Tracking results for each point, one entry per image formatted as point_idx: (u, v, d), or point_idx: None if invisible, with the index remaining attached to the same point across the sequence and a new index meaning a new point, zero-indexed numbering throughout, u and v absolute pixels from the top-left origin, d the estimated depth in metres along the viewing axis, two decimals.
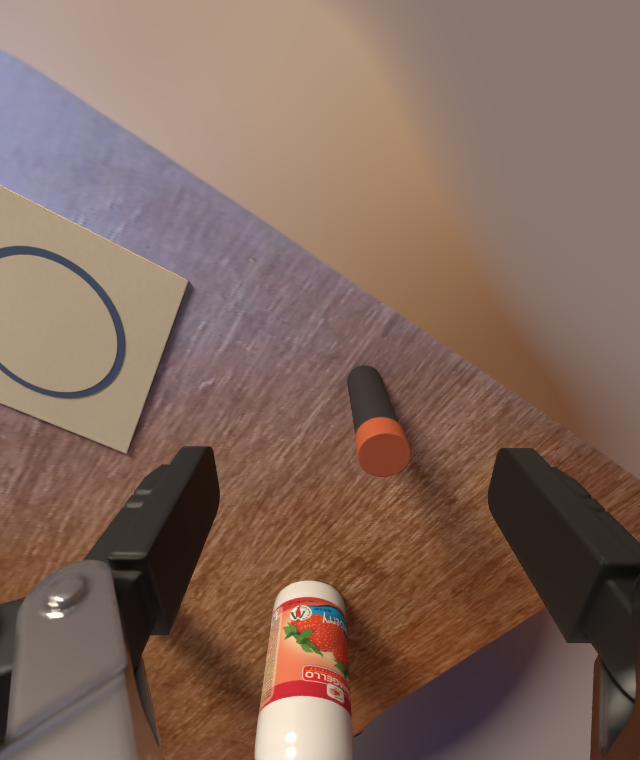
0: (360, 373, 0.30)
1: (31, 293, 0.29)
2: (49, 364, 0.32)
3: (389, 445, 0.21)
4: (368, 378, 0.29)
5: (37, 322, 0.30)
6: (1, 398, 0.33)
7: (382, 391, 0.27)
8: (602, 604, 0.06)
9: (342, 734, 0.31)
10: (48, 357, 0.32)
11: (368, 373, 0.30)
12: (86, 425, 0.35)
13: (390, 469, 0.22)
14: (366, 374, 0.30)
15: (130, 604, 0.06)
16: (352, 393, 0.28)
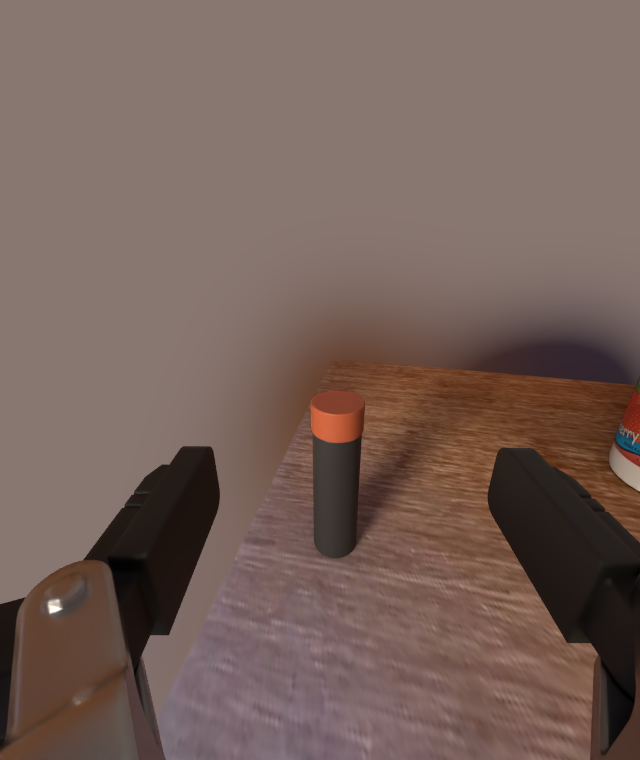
0: (319, 536, 0.24)
1: None
2: None
3: (324, 401, 0.21)
4: (315, 515, 0.24)
5: None
6: None
7: None
8: (602, 604, 0.06)
9: None
10: None
11: (315, 526, 0.25)
12: None
13: (349, 395, 0.22)
14: (315, 526, 0.25)
15: (130, 604, 0.06)
16: (335, 514, 0.23)
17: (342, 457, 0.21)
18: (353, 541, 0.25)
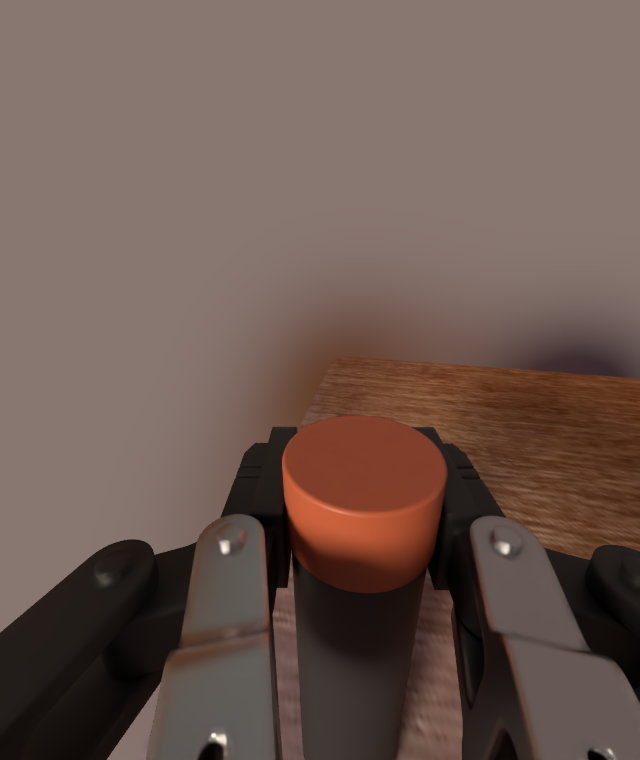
0: None
1: None
2: None
3: (324, 454, 0.07)
4: (303, 714, 0.10)
5: None
6: None
7: None
8: (452, 552, 0.07)
9: None
10: None
11: (303, 729, 0.11)
12: None
13: (393, 432, 0.08)
14: (304, 732, 0.10)
15: (271, 554, 0.07)
16: (354, 740, 0.09)
17: (378, 626, 0.07)
18: None
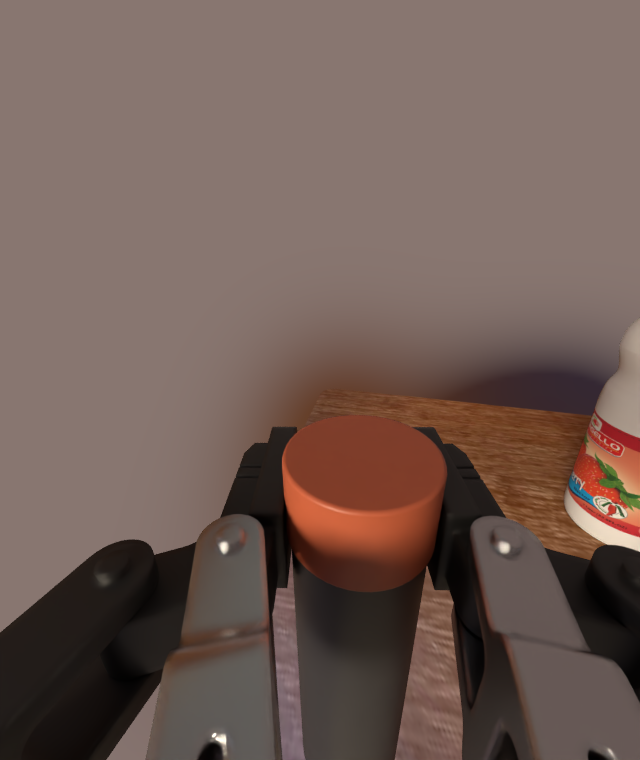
0: (314, 759, 0.10)
1: None
2: None
3: (324, 454, 0.07)
4: (304, 713, 0.10)
5: None
6: None
7: None
8: (452, 552, 0.07)
9: (603, 392, 0.32)
10: None
11: (303, 728, 0.11)
12: None
13: (393, 431, 0.08)
14: (305, 731, 0.10)
15: (271, 554, 0.07)
16: (354, 739, 0.09)
17: (378, 625, 0.07)
18: None
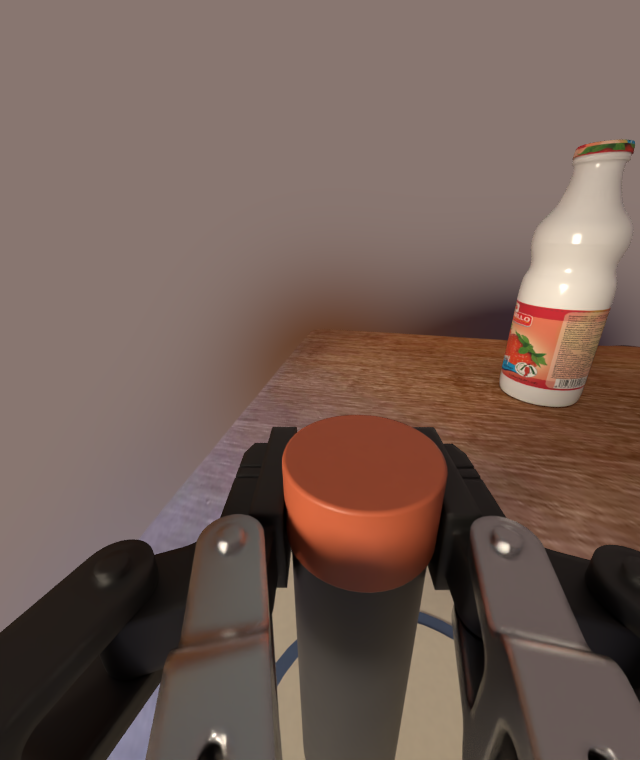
0: None
1: None
2: None
3: (324, 454, 0.07)
4: (304, 714, 0.10)
5: None
6: None
7: None
8: (452, 552, 0.07)
9: (521, 283, 0.42)
10: None
11: (303, 729, 0.11)
12: None
13: (393, 431, 0.08)
14: (305, 732, 0.10)
15: (271, 553, 0.07)
16: (354, 740, 0.09)
17: (379, 625, 0.07)
18: None
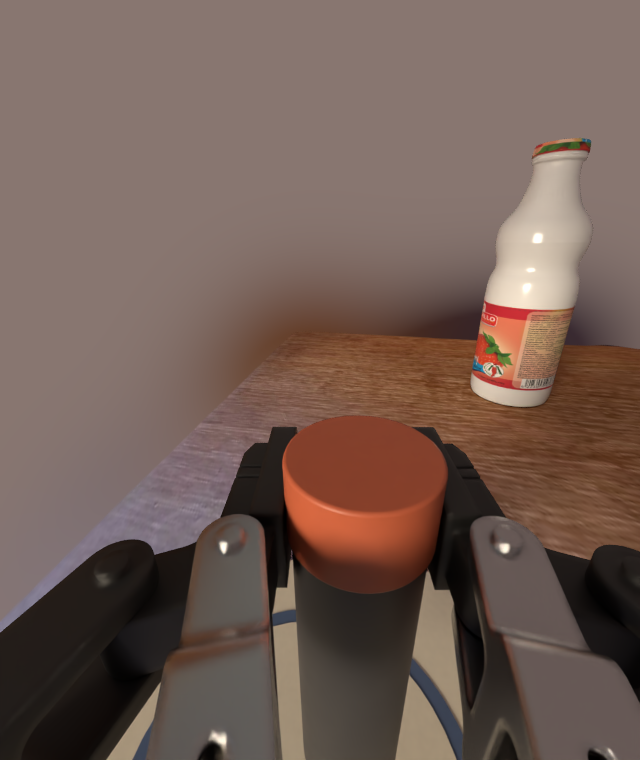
0: None
1: None
2: None
3: (325, 454, 0.07)
4: (304, 714, 0.10)
5: None
6: None
7: None
8: (451, 552, 0.07)
9: None
10: None
11: (303, 729, 0.11)
12: None
13: (394, 432, 0.08)
14: (305, 732, 0.10)
15: (271, 554, 0.07)
16: (354, 741, 0.09)
17: (379, 626, 0.07)
18: None
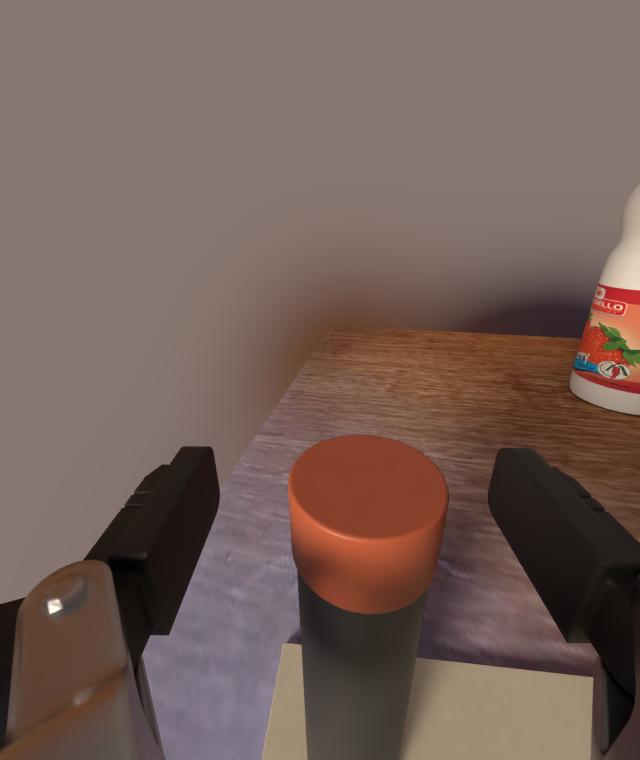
0: None
1: None
2: None
3: (329, 477, 0.07)
4: (308, 725, 0.10)
5: None
6: None
7: None
8: (602, 604, 0.06)
9: (606, 263, 0.34)
10: None
11: (307, 739, 0.11)
12: None
13: (396, 453, 0.08)
14: (309, 743, 0.11)
15: (130, 604, 0.06)
16: (358, 752, 0.09)
17: (382, 644, 0.07)
18: None
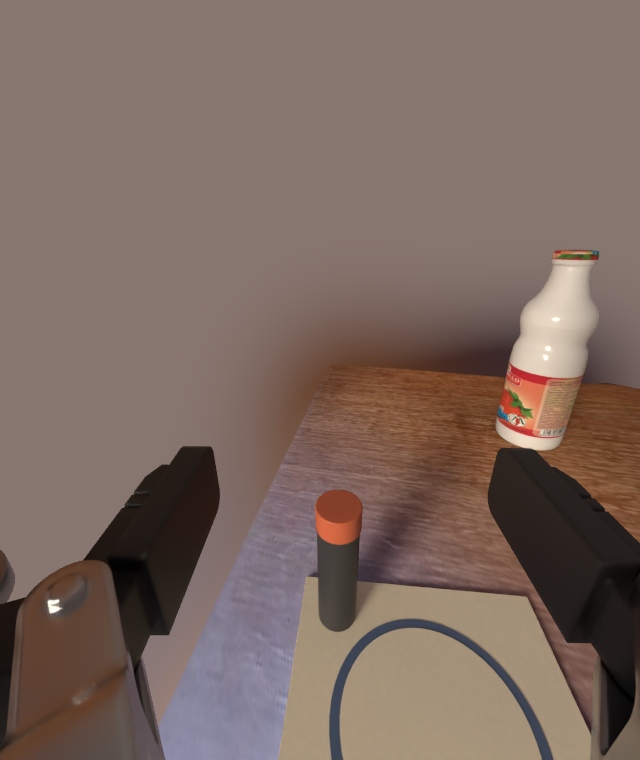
0: (323, 613, 0.28)
1: None
2: (484, 718, 0.23)
3: (327, 505, 0.24)
4: (320, 595, 0.27)
5: (434, 748, 0.21)
6: None
7: None
8: (602, 604, 0.06)
9: None
10: (475, 724, 0.23)
11: (319, 603, 0.28)
12: (532, 651, 0.26)
13: (349, 497, 0.25)
14: (320, 604, 0.28)
15: (130, 604, 0.06)
16: (337, 598, 0.26)
17: (343, 555, 0.24)
18: (353, 616, 0.28)
